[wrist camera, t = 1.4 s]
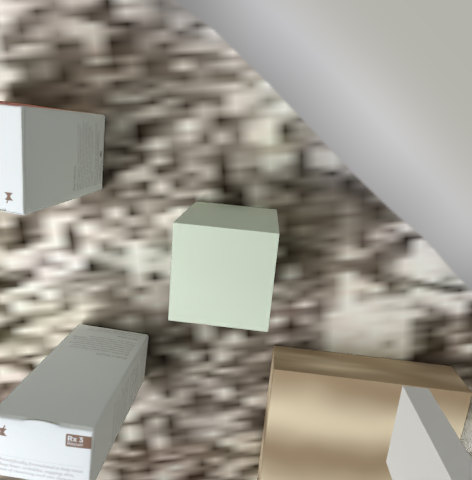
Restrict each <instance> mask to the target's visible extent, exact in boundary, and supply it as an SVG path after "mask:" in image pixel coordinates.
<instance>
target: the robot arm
mask: <svg viewBox="0 0 472 480" xmlns="http://www.w3.org/2000/svg"><path fill="white" fill-rule="evenodd" d="M386 463H387V466H388V469H389V472H390V475H391V478H392V480H472V458H471V457H470V455H469V453H468V452H467V450H466V449H465V447H464V445H463V444H462V442H461V440H460V439H459V437H458V436H457V434H456V432H455V431H454V429H453V427H452V426H451V424H450V423H449V421H448V419H447V418H446V416H445V414H444V413H443V411H442V410H441V408H440V406H439V405H438V403H437V401H436V400H435V398H434V397H433V395H432V393H431V392H430V390H429V389H427V388H419V387H411V386H402V390H401V395H400V400H399V404H398V409H397V414H396V418H395V423H394V427H393V432H392V437H391V441H390V446H389V451H388V455H387V460H386Z"/></svg>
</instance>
